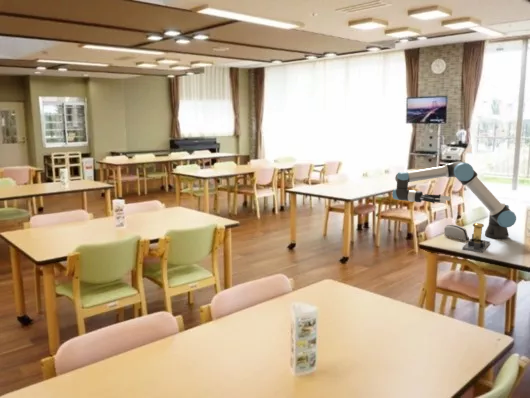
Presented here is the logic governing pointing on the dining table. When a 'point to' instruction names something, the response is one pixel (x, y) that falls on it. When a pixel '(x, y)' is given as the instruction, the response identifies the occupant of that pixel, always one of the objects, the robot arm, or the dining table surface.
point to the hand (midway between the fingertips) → (448, 200)
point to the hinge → (456, 232)
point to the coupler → (477, 232)
